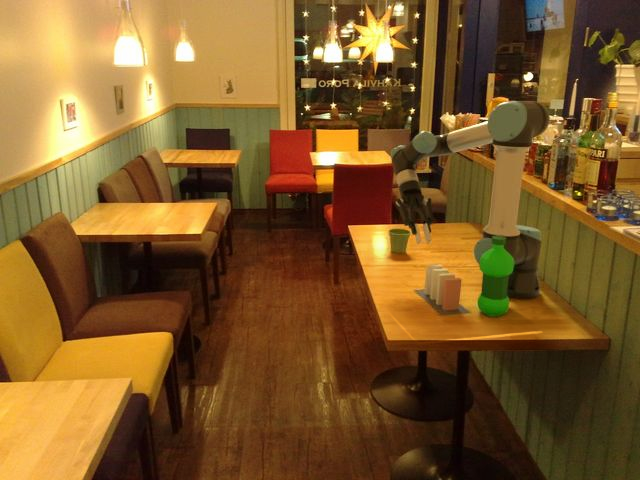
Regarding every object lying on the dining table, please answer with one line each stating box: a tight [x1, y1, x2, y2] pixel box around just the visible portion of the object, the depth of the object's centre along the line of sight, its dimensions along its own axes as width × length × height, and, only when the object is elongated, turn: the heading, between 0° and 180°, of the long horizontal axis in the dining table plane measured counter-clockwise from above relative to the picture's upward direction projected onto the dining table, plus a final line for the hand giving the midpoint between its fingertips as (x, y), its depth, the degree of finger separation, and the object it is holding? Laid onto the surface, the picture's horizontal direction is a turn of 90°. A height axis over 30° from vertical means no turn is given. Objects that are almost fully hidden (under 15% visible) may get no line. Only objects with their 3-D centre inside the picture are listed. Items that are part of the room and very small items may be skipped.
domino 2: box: [430, 268, 450, 300], centre depth 199 cm, size 2×5×10 cm, turn 105°
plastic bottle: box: [477, 236, 514, 317], centre depth 187 cm, size 10×10×25 cm
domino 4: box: [442, 277, 463, 310], centre depth 191 cm, size 2×5×10 cm, turn 105°
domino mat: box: [413, 288, 472, 316], centre depth 198 cm, size 22×10×1 cm, turn 15°
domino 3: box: [436, 272, 456, 305], centre depth 195 cm, size 2×5×10 cm, turn 105°
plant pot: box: [387, 228, 412, 254], centre depth 251 cm, size 9×9×9 cm
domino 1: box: [424, 263, 443, 295], centre depth 203 cm, size 2×5×10 cm, turn 105°
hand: (424, 241), depth 209 cm, fingers open, 3 cm apart
